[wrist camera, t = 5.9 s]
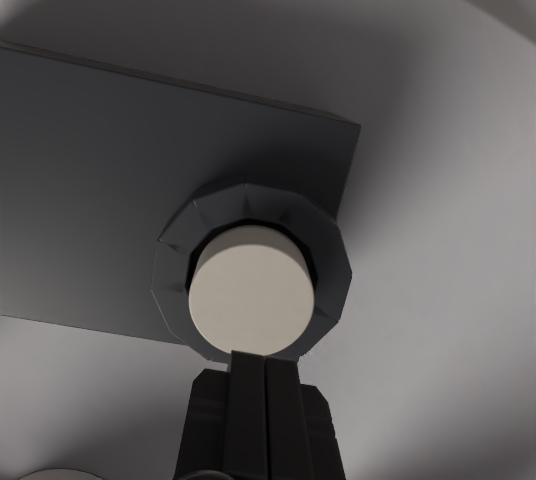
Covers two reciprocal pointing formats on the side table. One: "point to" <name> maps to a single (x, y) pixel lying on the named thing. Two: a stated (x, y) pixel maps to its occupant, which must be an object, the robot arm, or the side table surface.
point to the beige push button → (251, 291)
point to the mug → (60, 475)
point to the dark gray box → (155, 194)
